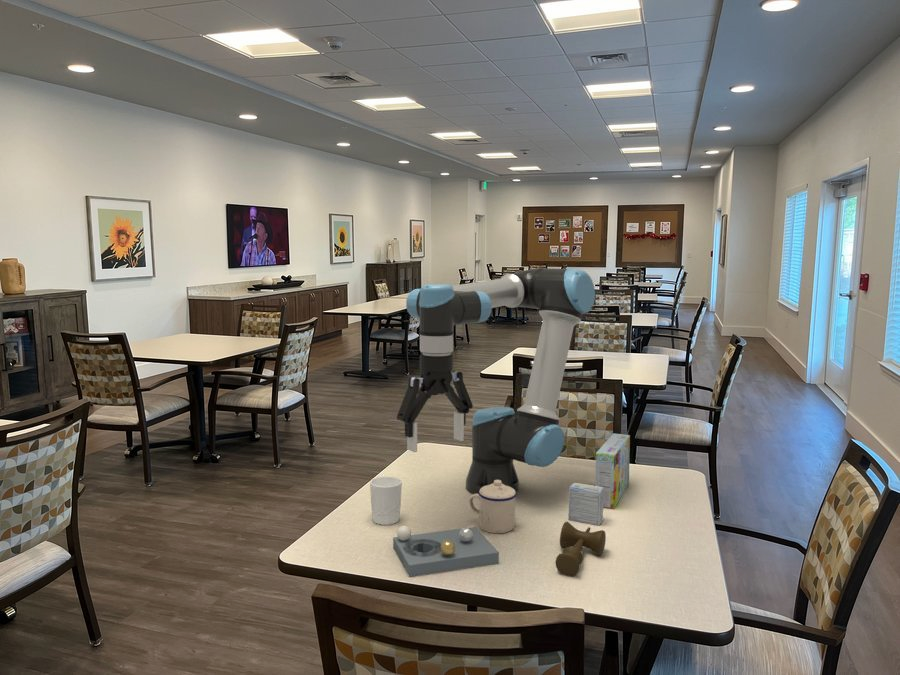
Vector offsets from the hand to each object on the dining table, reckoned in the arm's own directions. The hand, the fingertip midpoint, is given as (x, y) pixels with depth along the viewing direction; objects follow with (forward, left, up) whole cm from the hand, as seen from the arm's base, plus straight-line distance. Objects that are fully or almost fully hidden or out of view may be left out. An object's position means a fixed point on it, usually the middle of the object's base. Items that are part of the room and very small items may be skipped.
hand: (436, 445), depth 149 cm
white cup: (+8, -15, -23) cm, 29 cm away
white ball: (+8, +3, -19) cm, 21 cm away
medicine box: (-40, 0, -23) cm, 46 cm away
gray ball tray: (0, +8, -23) cm, 24 cm away
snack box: (-56, -13, -23) cm, 62 cm away
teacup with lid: (-16, -4, -23) cm, 28 cm away
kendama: (-28, +17, -23) cm, 40 cm away
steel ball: (-5, +8, -19) cm, 21 cm away
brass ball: (+1, +13, -19) cm, 23 cm away
